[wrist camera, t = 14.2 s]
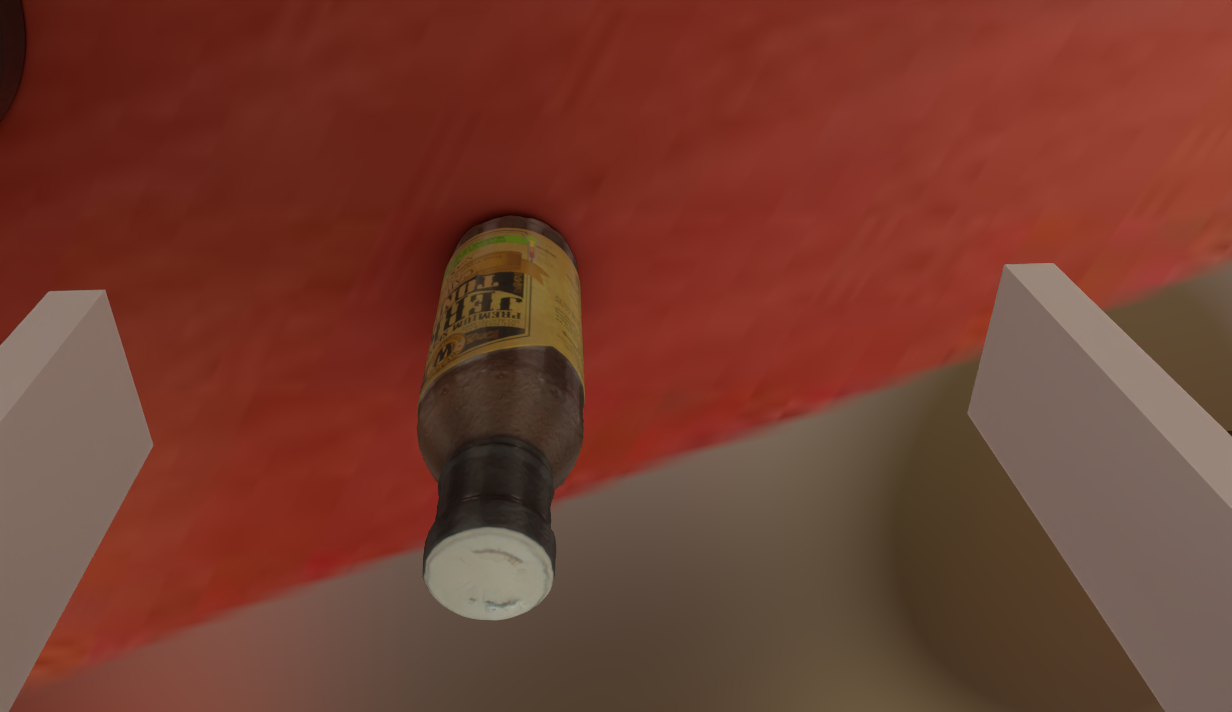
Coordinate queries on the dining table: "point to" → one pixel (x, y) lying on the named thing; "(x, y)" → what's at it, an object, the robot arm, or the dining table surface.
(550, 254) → the sauce bottle
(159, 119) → the dining table surface
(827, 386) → the dining table surface
